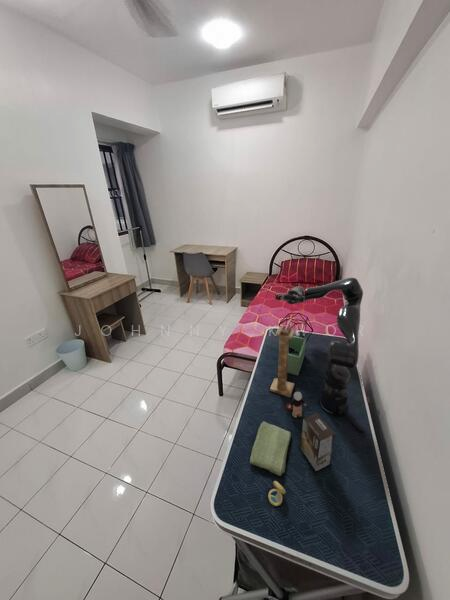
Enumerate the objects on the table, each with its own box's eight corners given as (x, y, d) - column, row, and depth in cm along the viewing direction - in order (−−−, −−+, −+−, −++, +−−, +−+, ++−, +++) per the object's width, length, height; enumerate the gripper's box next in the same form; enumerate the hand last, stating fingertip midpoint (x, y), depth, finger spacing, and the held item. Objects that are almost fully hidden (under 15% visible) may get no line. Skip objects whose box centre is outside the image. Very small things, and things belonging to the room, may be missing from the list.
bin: (304, 355, 138) (306, 338, 133) (298, 375, 124) (299, 357, 119) (286, 351, 143) (287, 334, 137) (278, 370, 129) (278, 352, 124)
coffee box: (330, 464, 85) (336, 434, 78) (315, 471, 83) (320, 442, 76) (313, 441, 92) (317, 412, 86) (299, 447, 91) (302, 418, 84)
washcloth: (292, 434, 96) (292, 428, 94) (283, 479, 81) (283, 474, 80) (260, 423, 101) (260, 418, 99) (246, 464, 86) (246, 459, 85)
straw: (292, 320, 111) (292, 317, 111) (285, 334, 101) (285, 331, 100) (290, 319, 112) (290, 317, 111) (282, 333, 101) (282, 331, 101)
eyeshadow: (265, 497, 77) (265, 489, 75) (274, 485, 80) (275, 476, 78) (277, 509, 74) (277, 501, 72) (286, 495, 77) (286, 487, 75)
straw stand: (294, 385, 118) (299, 326, 103) (290, 397, 112) (295, 335, 97) (274, 379, 122) (276, 321, 107) (269, 390, 116) (271, 330, 101)
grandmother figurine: (300, 408, 106) (303, 387, 101) (306, 415, 103) (308, 393, 97) (285, 413, 104) (287, 392, 99) (290, 421, 101) (292, 399, 95)
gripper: (281, 288, 134) (273, 290, 120) (307, 291, 128) (302, 292, 114) (280, 302, 135) (272, 304, 121) (306, 304, 129) (301, 308, 115)
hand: (286, 298), depth 117 cm, fingers open, 8 cm apart
